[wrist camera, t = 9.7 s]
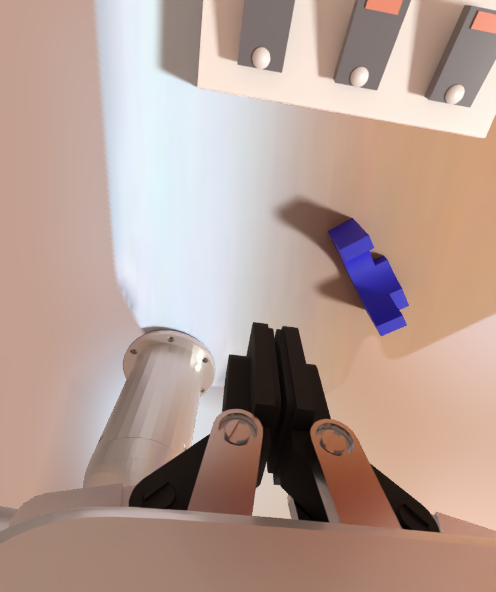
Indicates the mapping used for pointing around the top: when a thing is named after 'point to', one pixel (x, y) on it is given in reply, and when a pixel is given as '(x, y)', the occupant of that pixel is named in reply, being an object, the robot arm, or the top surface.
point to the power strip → (324, 56)
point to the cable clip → (370, 277)
